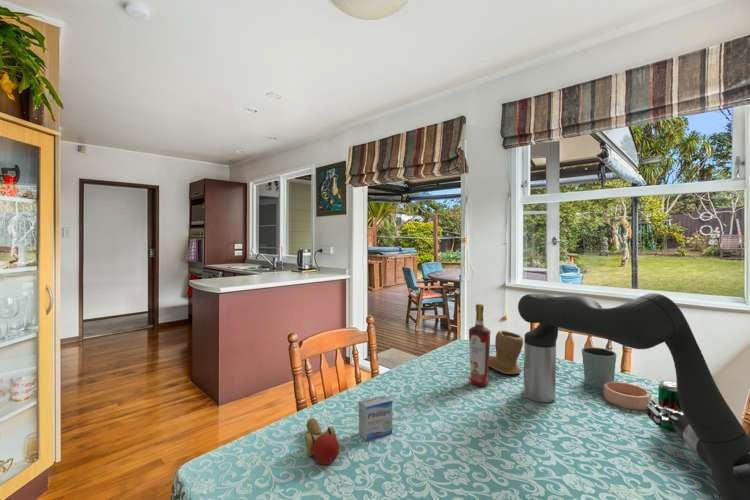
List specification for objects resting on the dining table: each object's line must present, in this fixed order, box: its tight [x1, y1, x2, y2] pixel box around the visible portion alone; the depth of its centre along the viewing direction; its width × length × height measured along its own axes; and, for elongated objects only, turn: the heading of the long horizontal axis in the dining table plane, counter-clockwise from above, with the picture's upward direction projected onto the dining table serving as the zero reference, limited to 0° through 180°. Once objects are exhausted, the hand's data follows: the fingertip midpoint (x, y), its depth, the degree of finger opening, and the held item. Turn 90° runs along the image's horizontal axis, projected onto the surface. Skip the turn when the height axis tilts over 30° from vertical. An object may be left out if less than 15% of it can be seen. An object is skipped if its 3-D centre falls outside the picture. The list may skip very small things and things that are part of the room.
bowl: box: [603, 380, 652, 411], centre depth 108 cm, size 12×12×4 cm
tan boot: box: [489, 330, 524, 375], centre depth 137 cm, size 15×12×15 cm
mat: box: [597, 390, 647, 412], centre depth 108 cm, size 13×11×1 cm
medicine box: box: [358, 395, 393, 442], centre depth 91 cm, size 8×4×9 cm, turn 118°
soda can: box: [657, 380, 683, 433], centre depth 93 cm, size 5×5×12 cm
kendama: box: [304, 417, 340, 465], centre depth 85 cm, size 8×6×18 cm
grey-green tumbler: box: [581, 346, 618, 390], centre depth 121 cm, size 10×10×12 cm
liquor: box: [468, 303, 491, 387], centre depth 123 cm, size 7×7×28 cm
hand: (672, 406), depth 92 cm, fingers open, 8 cm apart
